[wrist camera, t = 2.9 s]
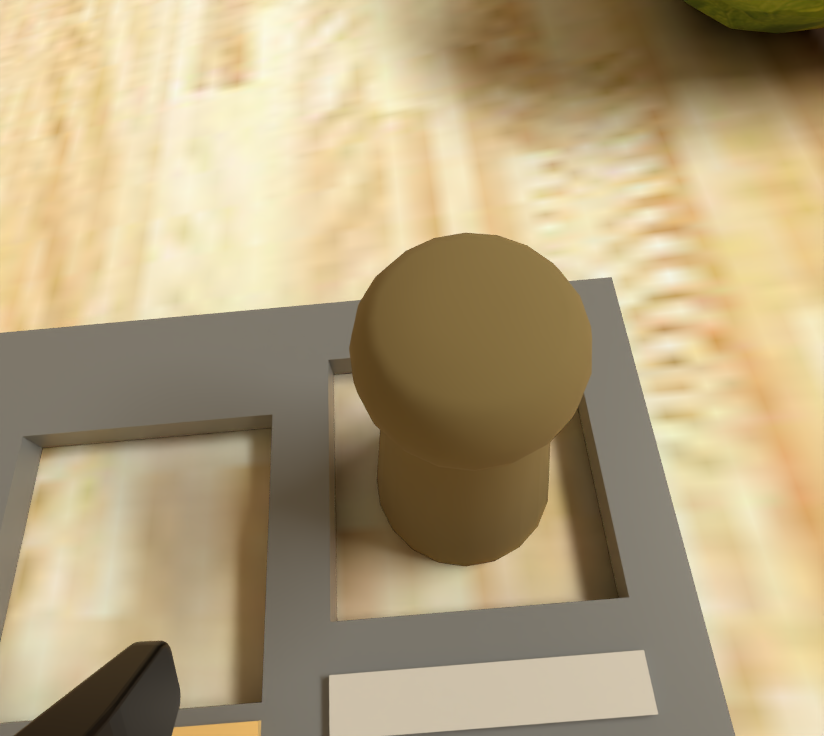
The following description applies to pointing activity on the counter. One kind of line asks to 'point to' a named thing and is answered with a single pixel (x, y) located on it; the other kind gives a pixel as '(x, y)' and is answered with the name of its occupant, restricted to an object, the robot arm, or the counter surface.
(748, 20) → the lettuce
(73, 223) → the counter surface
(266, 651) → the panel
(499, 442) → the cork
